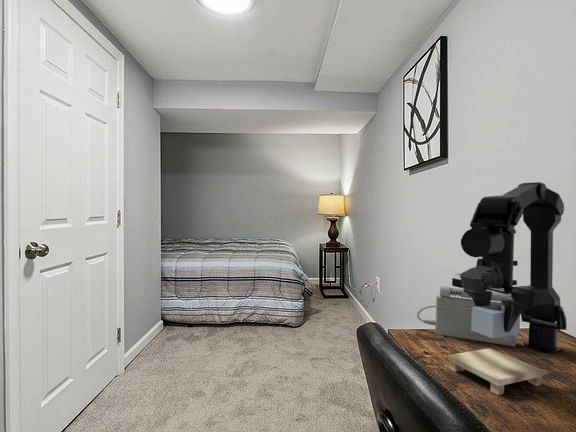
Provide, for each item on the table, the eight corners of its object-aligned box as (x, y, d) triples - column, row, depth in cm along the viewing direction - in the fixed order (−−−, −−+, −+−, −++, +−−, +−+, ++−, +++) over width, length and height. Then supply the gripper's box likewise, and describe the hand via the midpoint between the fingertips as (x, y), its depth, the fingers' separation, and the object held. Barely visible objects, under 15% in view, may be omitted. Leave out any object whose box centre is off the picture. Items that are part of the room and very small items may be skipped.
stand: (489, 360, 81) (489, 348, 81) (543, 384, 70) (543, 370, 70) (448, 368, 76) (448, 355, 76) (498, 395, 65) (498, 380, 65)
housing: (492, 338, 69) (493, 309, 69) (471, 330, 74) (472, 303, 74) (519, 334, 72) (520, 307, 72) (497, 326, 77) (498, 301, 77)
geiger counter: (515, 291, 94) (418, 281, 105) (519, 296, 88) (417, 285, 99) (513, 341, 94) (417, 327, 105) (518, 349, 88) (415, 333, 99)
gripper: (435, 250, 79) (432, 318, 79) (514, 262, 61) (511, 348, 61) (470, 250, 83) (468, 314, 83) (554, 260, 65) (551, 341, 65)
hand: (495, 327), depth 73 cm, fingers closed on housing, 5 cm apart
